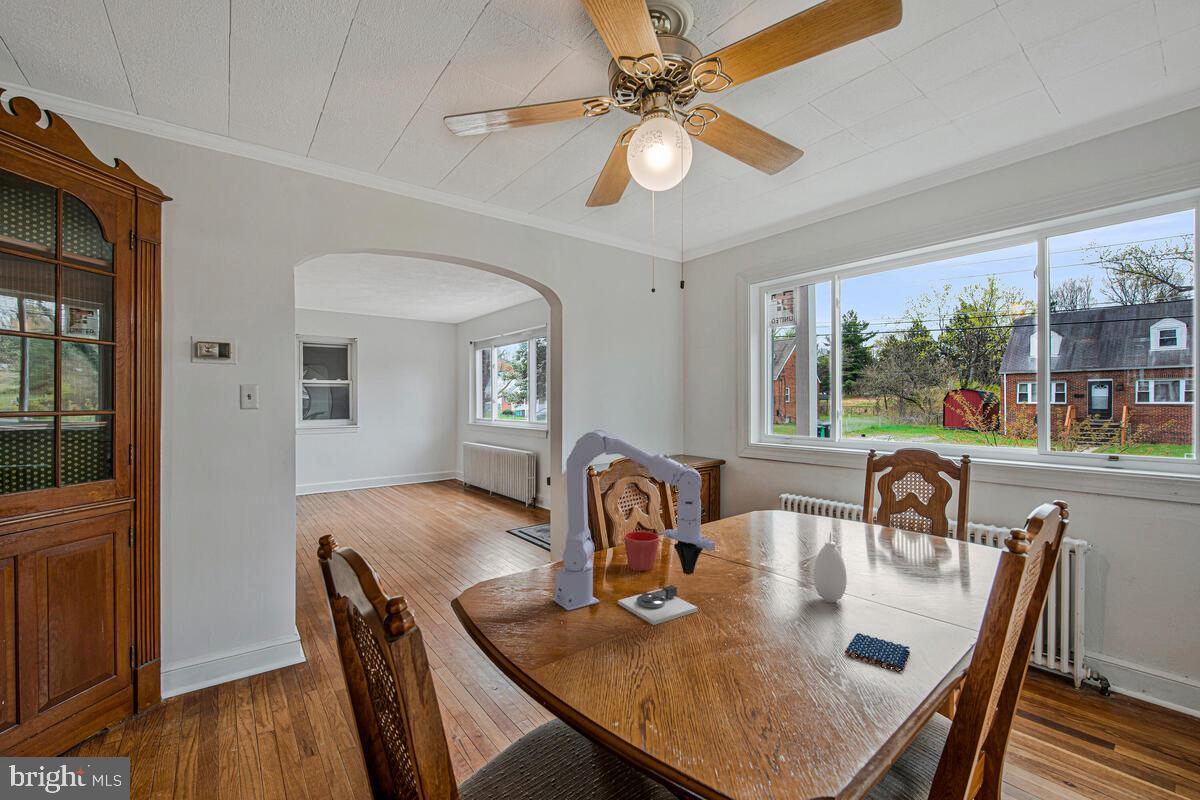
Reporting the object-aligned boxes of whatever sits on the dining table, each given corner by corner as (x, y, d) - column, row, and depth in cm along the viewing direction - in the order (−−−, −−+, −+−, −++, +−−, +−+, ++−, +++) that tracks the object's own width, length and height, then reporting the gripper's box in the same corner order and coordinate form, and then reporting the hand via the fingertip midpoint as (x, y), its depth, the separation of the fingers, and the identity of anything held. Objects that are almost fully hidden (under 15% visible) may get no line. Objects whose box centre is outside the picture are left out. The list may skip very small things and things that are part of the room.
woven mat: (854, 639, 111) (854, 630, 111) (910, 655, 105) (910, 645, 105) (842, 657, 103) (842, 648, 103) (902, 676, 97) (902, 666, 97)
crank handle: (648, 610, 121) (648, 600, 121) (631, 600, 127) (631, 591, 127) (683, 600, 127) (683, 590, 127) (665, 591, 133) (665, 582, 133)
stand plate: (653, 625, 116) (653, 620, 116) (618, 604, 128) (618, 599, 128) (697, 611, 124) (697, 606, 124) (660, 592, 136) (660, 588, 136)
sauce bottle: (850, 608, 126) (850, 537, 126) (816, 606, 128) (817, 535, 128) (841, 596, 134) (842, 529, 134) (810, 594, 135) (811, 527, 135)
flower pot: (647, 575, 149) (647, 542, 148) (616, 567, 155) (617, 536, 155) (665, 566, 157) (665, 535, 157) (635, 559, 164) (636, 529, 164)
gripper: (723, 521, 121) (722, 578, 121) (678, 510, 132) (677, 562, 132) (704, 525, 116) (703, 584, 116) (659, 514, 128) (658, 567, 128)
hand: (688, 573), depth 124 cm, fingers closed
